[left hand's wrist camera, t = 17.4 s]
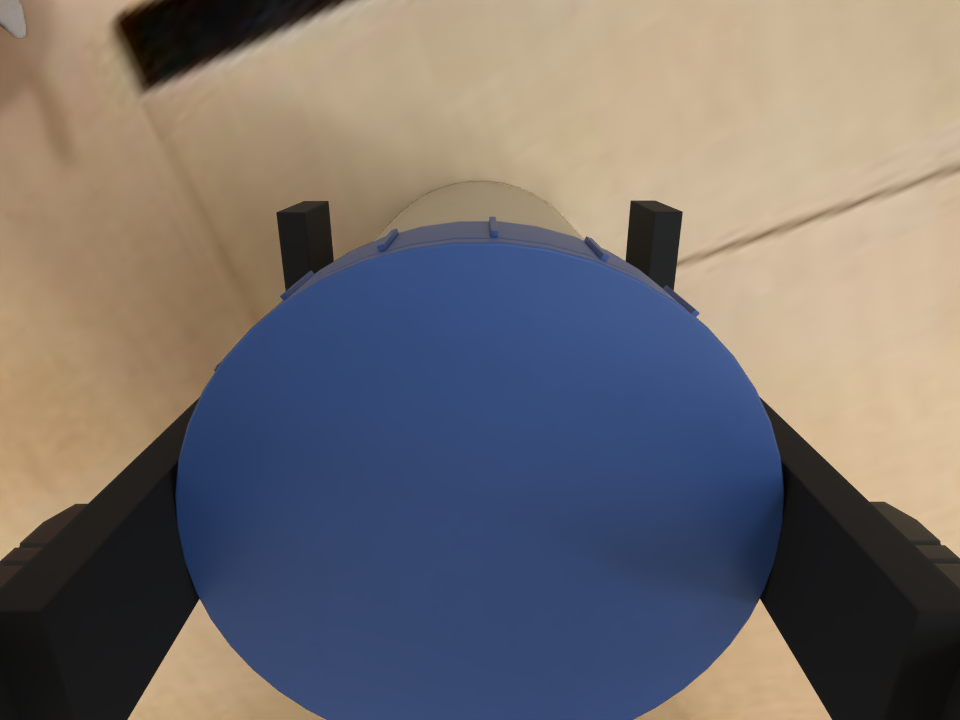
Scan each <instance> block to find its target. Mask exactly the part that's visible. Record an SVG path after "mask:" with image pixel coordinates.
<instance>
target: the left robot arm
mask: <svg viewBox="0 0 960 720" xmlns="http://www.w3.org/2000/svg"><path fill="white" fill-rule="evenodd" d="M199 399H200V397H199V398H198V399H197V400H196V401H195V402H194V403H193V404H192V405H191V406H190V407H189V408H188V409H187V410H186V411H185V412H184V413H183V414H182V415H181V416H180V417H179V418H178V419H176V420H175V421H174V422H173V423H172V424H171V425H170V426H169V427H168V428H167V429H166V430H165V431H164V432H163V433H162V434H161V435H160V436H159V437H158V438H157V439H156V440H155V441H153V442H152V443H151V444H150V445H149V446H148V447H147V448H146V449H145V450H144V451H143V452H142V453H141V454H140V455H139V456H138V457H137V458H136V459H135V460H134V461H133V462H132V463H130V464H129V465H128V466H127V467H126V468H125V469H124V470H123V471H122V472H121V473H120V474H119V475H118V476H117V477H116V478H115V479H114V480H113V481H112V482H111V483H110V484H109V485H107V486H106V487H105V488H104V489H103V490H102V491H101V492H100V493H99V494H98V495H97V496H96V497H95V498H94V499H93V500H92V501H91V502H90V503H89V504H75V505H73V506H71V507H69V508H68V509H66V510H64V511H62V512H61V513H59V514H57V515H55V516H53V517H52V518H50V519H48V520H46V521H45V522H43V523H42V524H41V525H40V526H39V527H38V528H36V529H35V530H34V531H33V532H32V533H31V534H30V535H29V536H28V537H26V538H25V539H24V540H23V541H22V542H21V543H20V547H19V548H14V549H13V550H12V551H11V552H10V553H9V554H8V555H6V556H5V557H4V558H3V559H2V560H1V561H0V720H127V719H128V718H129V716H130V714H131V713H132V711H133V709H134V708H135V706H136V704H137V703H138V701H139V699H140V698H141V696H142V694H143V692H144V691H145V689H146V687H147V686H148V684H149V682H150V681H151V679H152V677H153V676H154V674H155V672H156V671H157V669H158V667H159V666H160V664H161V662H162V661H163V659H164V657H165V656H166V654H167V652H168V651H169V649H170V647H171V646H172V644H173V642H174V641H175V639H176V637H177V636H178V634H179V632H180V631H181V629H182V627H183V625H184V624H185V622H186V620H187V619H188V617H189V615H190V614H191V612H192V610H193V609H194V607H195V605H196V604H197V602H198V600H199V599H200V598H199V596H198V594H197V592H196V591H195V588H194V585H193V583H192V580H191V577H190V575H189V572H188V569H187V567H186V563H185V559H184V554H183V550H182V545H181V540H180V536H179V531H178V526H177V516H176V498H175V492H176V482H177V472H178V462H179V456H180V452H181V449H182V445H183V441H184V438H185V434H186V430H187V426H188V423H189V421H190V419H191V417H192V414H193V412H194V410H195V408H196V405H197V403H198V401H199ZM760 400H761V402H762V404H763V406H764V408H765V411H766V413H767V415H768V417H769V419H770V422H771V425H772V428H773V432H774V435H775V439H776V443H777V446H778V450H779V454H780V458H781V467H782V476H783V485H784V508H783V523H782V528H781V533H780V538H779V542H778V547H777V552H776V557H775V561H774V565H773V568H772V570H771V573H770V576H769V579H768V581H767V584H766V587H765V589H764V591H763V593H762V595H761V597H760V599H761V601H762V603H763V604H764V606H765V608H766V609H767V611H768V613H769V614H770V616H771V618H772V619H773V621H774V623H775V624H776V626H777V628H778V629H779V631H780V633H781V634H782V636H783V638H784V640H785V641H786V643H787V645H788V646H789V648H790V650H791V651H792V653H793V655H794V656H795V658H796V660H797V661H798V663H799V665H800V666H801V668H802V670H803V671H804V673H805V675H806V676H807V678H808V680H809V681H810V683H811V685H812V686H813V688H814V690H815V691H816V693H817V695H818V696H819V698H820V700H821V702H822V703H823V705H824V707H825V708H826V710H827V712H828V713H829V715H830V717H831V718H832V720H960V558H959V557H958V556H956V555H955V554H954V553H953V552H952V551H951V550H950V549H949V548H947V547H946V546H945V545H941V544H940V540H939V539H937V538H936V537H935V536H934V535H933V534H932V533H931V532H930V531H928V530H927V529H926V528H925V527H924V526H923V525H922V524H921V523H920V522H918V521H917V520H916V519H914V518H912V517H911V516H909V515H907V514H905V513H903V512H902V511H900V510H898V509H896V508H894V507H893V506H891V505H889V504H887V503H886V502H869V501H868V500H867V499H866V498H865V497H864V496H863V495H862V494H860V493H859V492H858V491H857V490H856V489H855V488H854V487H853V486H852V485H851V484H850V483H849V482H848V481H847V480H846V479H845V478H844V477H843V476H842V475H841V474H840V473H839V472H837V471H836V470H835V469H834V468H833V467H832V466H831V465H830V464H829V463H828V462H827V461H826V460H825V459H824V458H823V457H822V456H821V455H820V454H819V453H818V452H817V451H816V450H814V449H813V448H812V447H811V446H810V445H809V444H808V443H807V442H806V441H805V440H804V439H803V438H802V437H801V436H800V435H799V434H798V433H797V432H796V431H795V430H794V429H793V428H791V427H790V426H789V425H788V424H787V423H786V422H785V421H784V420H783V419H782V418H781V417H780V416H779V415H778V414H777V413H776V412H775V411H774V410H773V409H772V408H771V407H770V406H769V405H767V404H766V403H765V402H764V401H763V400H762V399H761V398H760Z"/></svg>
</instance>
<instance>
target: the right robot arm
mask: <svg viewBox="0 0 960 720" xmlns="http://www.w3.org/2000/svg"><path fill="white" fill-rule="evenodd" d="M682 213H683V212H682V211H679V210H677V209H674V208H672V207H669V206H667V205H664V204H662V203H660V202H657V201H631V205H630V217H629V228H628V240H627V252H626V262H627V263H629V264H631V265H632V266H634V267H636V268H637V269H639V270H640V271H642V272H643V273H644V274H645V275H646V276H648V277H649V278H650V279H651V280H653V281H654V282H655V283H656V284H658V285H659V286H660V287H661V288H664V287H665V286H666V285H667V286H668V287H669V288H670V289H672V290H673V291H674V282H675V274H676V265H677V256H678V248H679V239H680V230H681V221H682ZM277 220H278V229H279V237H280V246H281V254H282V263H283V271H284V280H285V288H286V291H287V290H288V289H289V288H290V287H292V286H293V285H294V284H295V283H296V282H298V281H299V280H300V279H301V278H302V277H304V276H305V275H306V274H307V273H309V272H310V271H312V272H313V273H314V274H315V273H317V272H318V271H319V270H321V269H322V268H324V267H326V266H327V265H329V264H331V263H332V262H334V260H333V248H332V237H331V226H330V214H329V203H328V201H303V202H301V203H299V204H296V205H294V206H291V207H289V208H286V209H284V210H281V211H279V212H277Z"/></svg>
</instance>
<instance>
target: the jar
mask: <svg viewBox="0 0 960 720" xmlns="http://www.w3.org/2000/svg"><path fill="white" fill-rule="evenodd" d="M489 217H496V221H501V222H508V223H516V224H524V225H531V226H538V227H541V228H545V229H549V230H552V231H556V232H560V233H564V234H567V235H571V236H574V237H577V238H579V239H581V240H585V239H584V238H583V237H582V236H581V235H580V234H579V233H578V232H577V231H576V230H575V229H574V228H573V227H572V226H571V225H570V224H569V223H568V222H567V221H566V219H565V218H564V217H563V216H562V215H561V214H560V213H559V212H558V211H557V210H556V209H554V208H553V207H552V206H550V205H549V204H548V203H547V202H545V201H544V200H542V199H540V198H539V197H537V196H535V195H534V194H532V193H530V192H527V191H525V190H523V189H520V188H518V187H514V186H511V185H507V184H503V183H496V182H488V181H470V182H463V183H457V184H452V185H449V186H445V187H442V188H439V189H437V190H435V191H432V192H430V193H428V194H426V195H424V196H422V197H421V198H419V199H418V200H416V201H414V202H413V203H411V204H410V205H409V206H408V207H407V208H405V209H404V210H403V211H402V212H401V213H400V214H399V215H398V216H397V217H396V218H395V219H394V220H393V221H392V222H391V223H390V224H389V225H388V226H387V227H386V228H385V229H384V230H383V231H382V232H381V234H380V235H379V236H378V237H377V238H376V239H375V240H374V241H376V240H378V239H381V238H383V237H385V236H387V234H388V233H389V232H390V231H391V230H393V229H396V228H397V230H398V233H400V232H404V231H407V230H411V229H414V228H418V227H422V226H429V225H436V224H444V223H451V222H458V221H489ZM374 241H373V242H374Z"/></svg>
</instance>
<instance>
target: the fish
mask: <svg viewBox="0 0 960 720" xmlns="http://www.w3.org/2000/svg"><path fill="white" fill-rule="evenodd" d="M0 25H1V26H2V27H3V28H4V29H6V30H7V31H8V32H9V33H11V34H12V35H13V36H14V37H17V38H23V37H25V36H26V34H27V33H26V24H25V19H24V14H23V9H22V5H21V3H20V2H19V0H0Z"/></svg>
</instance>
